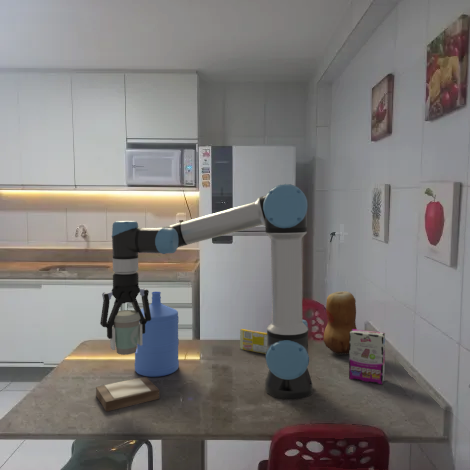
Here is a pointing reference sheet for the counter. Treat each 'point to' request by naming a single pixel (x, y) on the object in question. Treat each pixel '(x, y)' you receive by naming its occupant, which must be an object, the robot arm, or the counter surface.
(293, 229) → the robot arm
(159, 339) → the water jug
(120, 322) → the coffee cup
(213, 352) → the counter surface
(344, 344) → the butternut squash
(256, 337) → the candy box
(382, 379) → the candy bar box
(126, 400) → the walnut plinth
